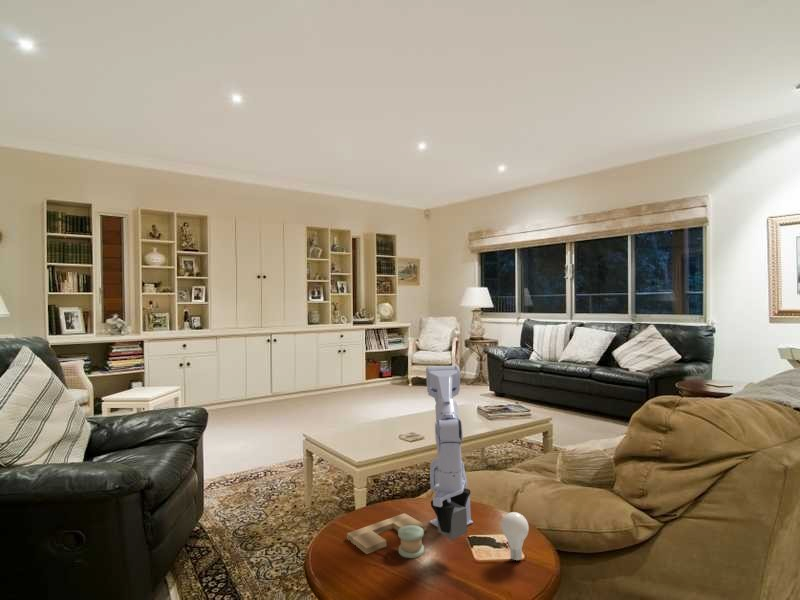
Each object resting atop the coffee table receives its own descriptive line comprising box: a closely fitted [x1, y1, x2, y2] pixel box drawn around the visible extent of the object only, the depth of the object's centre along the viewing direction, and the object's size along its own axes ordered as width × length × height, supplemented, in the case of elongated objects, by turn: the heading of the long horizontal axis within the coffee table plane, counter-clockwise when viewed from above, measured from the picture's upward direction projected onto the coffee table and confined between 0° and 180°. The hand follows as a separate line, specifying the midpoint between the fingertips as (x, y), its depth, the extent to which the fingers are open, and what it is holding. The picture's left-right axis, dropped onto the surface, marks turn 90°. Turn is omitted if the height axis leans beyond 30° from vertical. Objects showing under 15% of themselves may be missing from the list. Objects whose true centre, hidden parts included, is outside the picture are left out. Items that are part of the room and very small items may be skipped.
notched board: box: [346, 512, 427, 555], centre depth 125 cm, size 19×10×2 cm, turn 125°
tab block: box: [437, 502, 468, 540], centre depth 113 cm, size 5×5×6 cm
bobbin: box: [397, 525, 425, 559], centre depth 116 cm, size 6×6×5 cm
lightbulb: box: [500, 511, 530, 562], centre depth 111 cm, size 6×6×11 cm
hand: (452, 525), depth 113 cm, fingers closed on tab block, 6 cm apart
